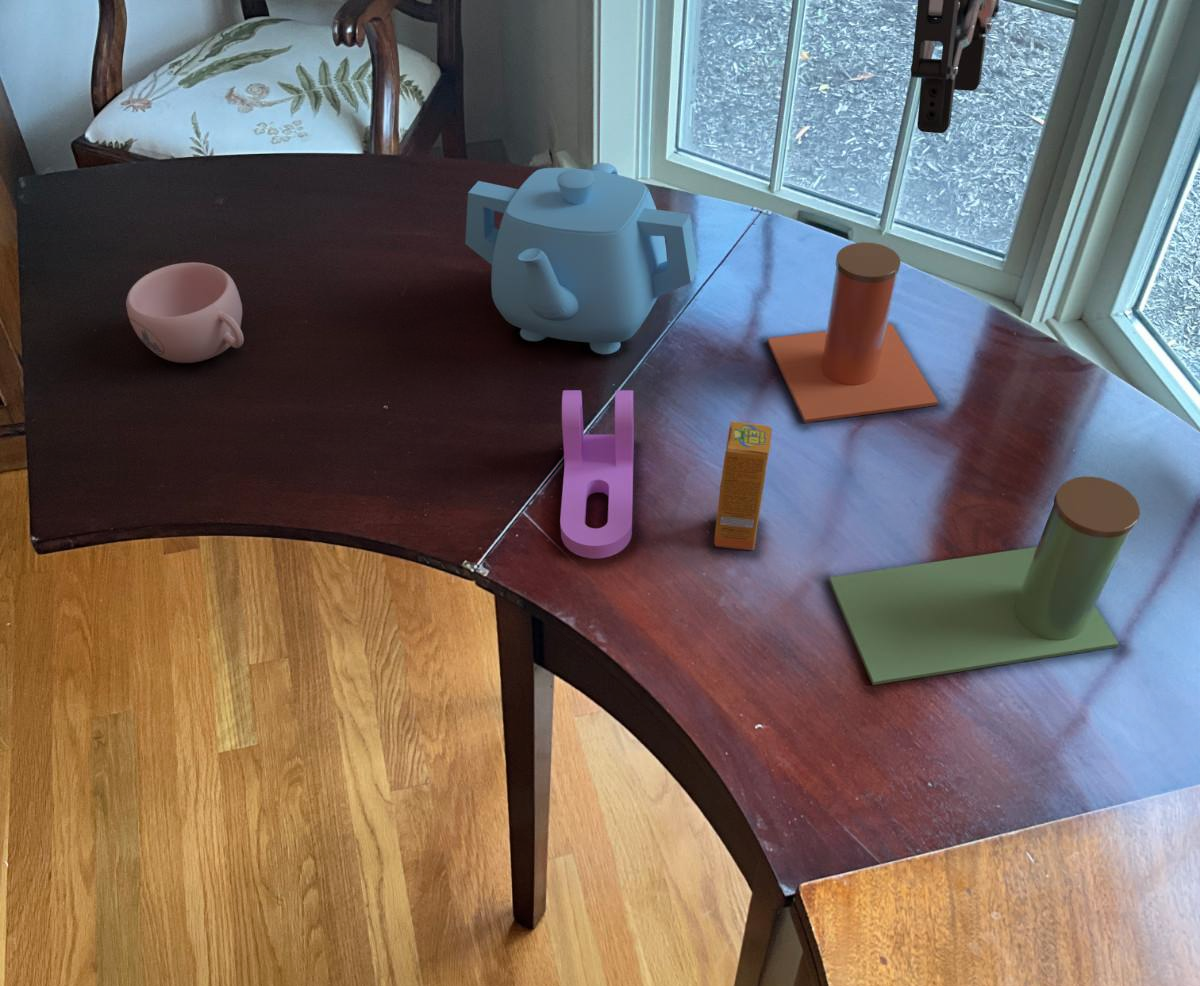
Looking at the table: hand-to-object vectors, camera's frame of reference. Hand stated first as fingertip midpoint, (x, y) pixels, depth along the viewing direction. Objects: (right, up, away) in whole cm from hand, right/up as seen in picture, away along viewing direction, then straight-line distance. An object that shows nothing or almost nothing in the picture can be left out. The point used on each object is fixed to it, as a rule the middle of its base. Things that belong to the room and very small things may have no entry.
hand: (949, 109), depth 83 cm
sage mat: (+1, -38, -2) cm, 38 cm away
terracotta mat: (-4, -16, +17) cm, 24 cm away
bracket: (-26, -29, +7) cm, 40 cm away
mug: (-64, -13, +22) cm, 69 cm away
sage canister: (+6, -38, -3) cm, 39 cm away
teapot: (-28, -11, +23) cm, 38 cm away
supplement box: (-16, -32, +4) cm, 36 cm away
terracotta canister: (-4, -16, +17) cm, 23 cm away
